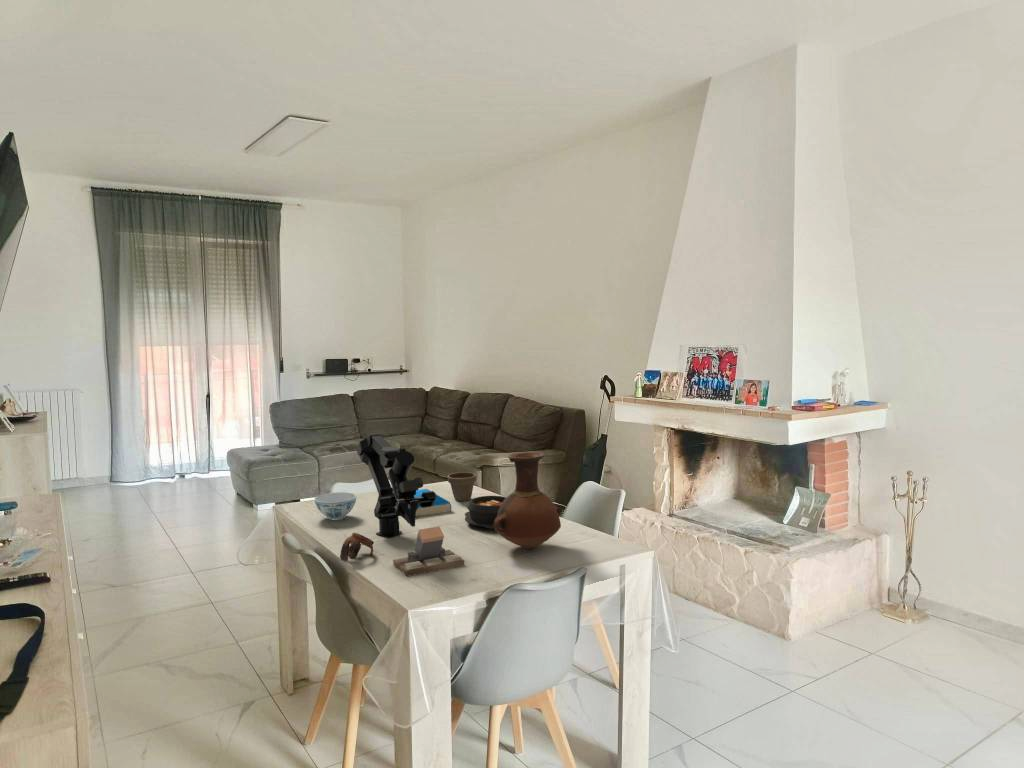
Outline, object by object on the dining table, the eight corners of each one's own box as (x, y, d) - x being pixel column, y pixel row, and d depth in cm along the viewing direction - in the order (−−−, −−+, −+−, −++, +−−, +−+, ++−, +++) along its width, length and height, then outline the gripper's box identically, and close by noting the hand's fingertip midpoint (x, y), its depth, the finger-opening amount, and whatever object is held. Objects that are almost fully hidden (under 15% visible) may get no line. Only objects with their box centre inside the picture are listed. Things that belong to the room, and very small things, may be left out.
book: (408, 508, 257) (387, 492, 279) (409, 519, 258) (387, 503, 280) (451, 502, 265) (427, 487, 287) (452, 513, 266) (428, 497, 288)
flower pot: (452, 504, 275) (452, 479, 274) (444, 497, 286) (444, 473, 285) (480, 501, 279) (480, 476, 278) (471, 494, 290) (471, 470, 289)
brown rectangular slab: (393, 564, 207) (393, 552, 207) (449, 554, 216) (449, 542, 216) (406, 576, 198) (406, 563, 197) (464, 565, 206) (464, 552, 206)
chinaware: (307, 521, 253) (306, 500, 252) (329, 511, 267) (328, 491, 267) (343, 524, 249) (343, 503, 248) (364, 513, 263) (363, 493, 262)
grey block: (413, 553, 208) (418, 529, 203) (434, 549, 211) (439, 526, 207) (417, 563, 205) (422, 539, 200) (439, 559, 209) (444, 535, 204)
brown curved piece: (339, 554, 219) (351, 529, 220) (366, 567, 219) (378, 542, 221) (334, 557, 207) (347, 531, 209) (363, 570, 207) (376, 544, 209)
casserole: (531, 528, 242) (531, 505, 241) (482, 537, 233) (482, 512, 232) (498, 511, 264) (498, 490, 263) (453, 518, 255) (452, 496, 254)
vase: (535, 533, 236) (535, 445, 234) (578, 547, 221) (578, 453, 219) (478, 549, 220) (476, 455, 218) (519, 565, 205) (518, 465, 203)
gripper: (377, 472, 215) (390, 516, 206) (434, 466, 224) (448, 508, 215) (370, 492, 222) (382, 535, 214) (425, 485, 231) (438, 526, 223)
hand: (413, 525), depth 216 cm, fingers closed
